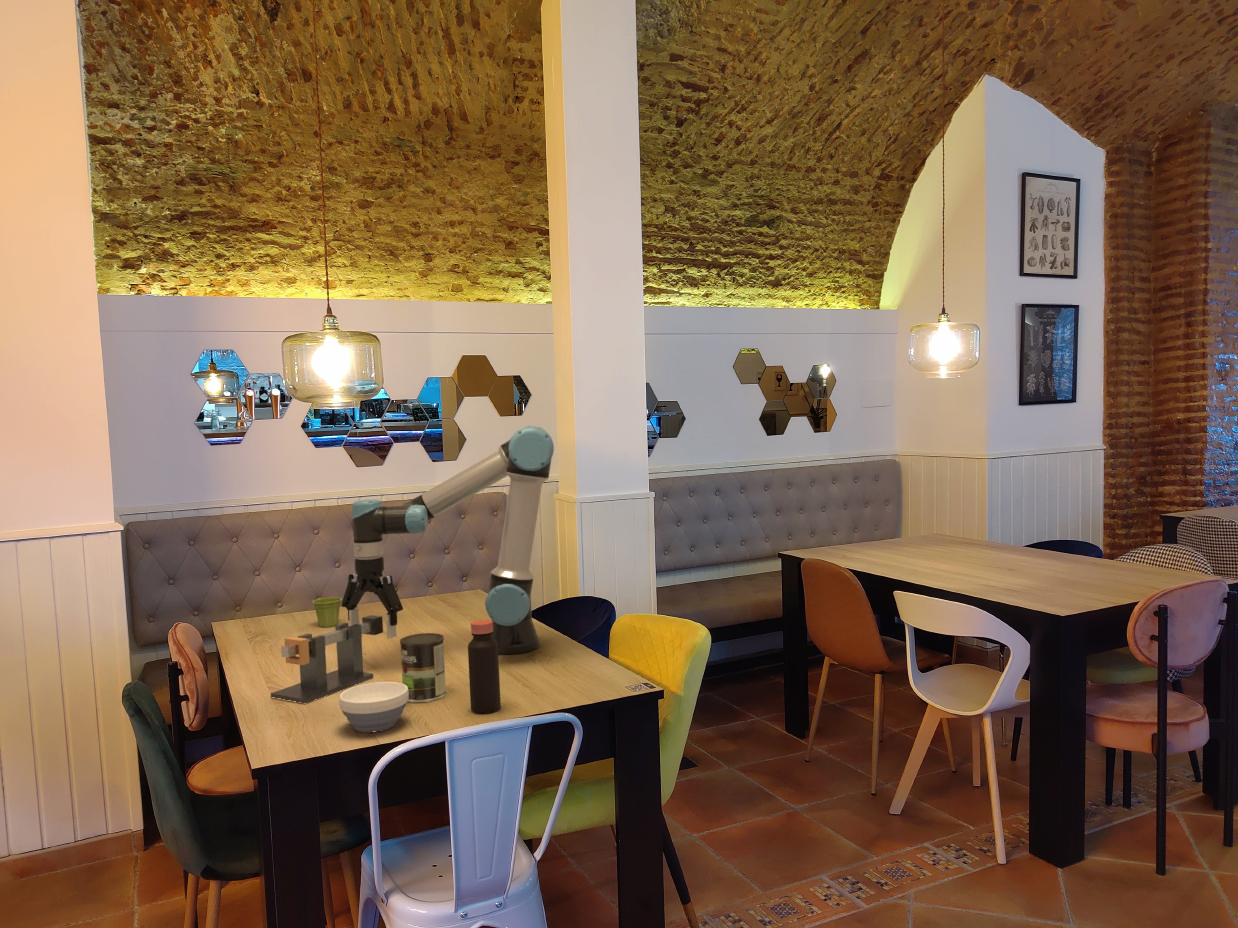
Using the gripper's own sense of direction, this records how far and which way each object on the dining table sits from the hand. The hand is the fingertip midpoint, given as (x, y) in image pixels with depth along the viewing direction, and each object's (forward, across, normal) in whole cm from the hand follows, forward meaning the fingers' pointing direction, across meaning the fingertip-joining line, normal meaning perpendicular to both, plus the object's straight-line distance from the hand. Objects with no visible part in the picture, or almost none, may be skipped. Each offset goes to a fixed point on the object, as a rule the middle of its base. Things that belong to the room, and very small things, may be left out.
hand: (373, 635), depth 226 cm
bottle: (+9, +49, -14) cm, 52 cm away
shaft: (-1, 0, -14) cm, 14 cm away
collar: (+1, 0, -25) cm, 25 cm away
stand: (+9, 0, -18) cm, 20 cm away
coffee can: (+9, +29, -12) cm, 33 cm away
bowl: (+10, +33, -32) cm, 47 cm away
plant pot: (+9, -54, +32) cm, 64 cm away
